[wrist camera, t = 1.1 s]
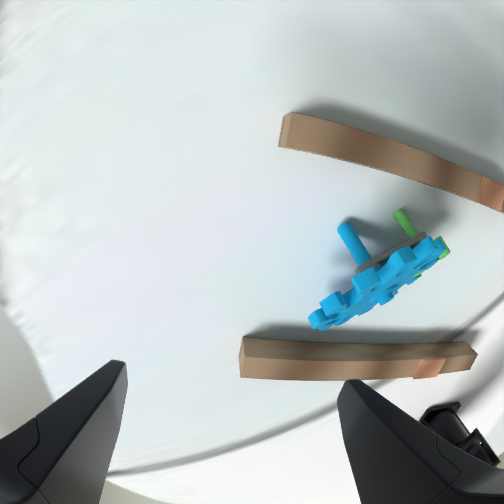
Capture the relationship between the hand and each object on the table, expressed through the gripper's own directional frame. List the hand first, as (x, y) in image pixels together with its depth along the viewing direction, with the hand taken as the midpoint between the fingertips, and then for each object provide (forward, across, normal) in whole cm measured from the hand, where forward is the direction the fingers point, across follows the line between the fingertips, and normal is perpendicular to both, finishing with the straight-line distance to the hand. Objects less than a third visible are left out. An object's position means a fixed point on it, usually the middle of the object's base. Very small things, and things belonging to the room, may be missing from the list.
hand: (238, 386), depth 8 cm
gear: (+13, -10, 0) cm, 17 cm away
